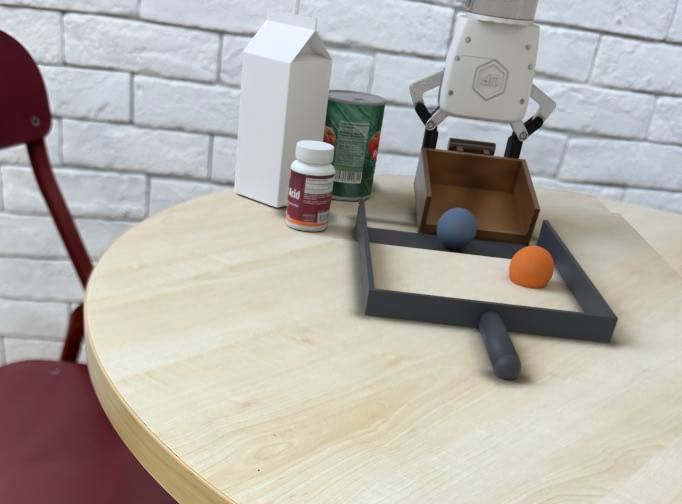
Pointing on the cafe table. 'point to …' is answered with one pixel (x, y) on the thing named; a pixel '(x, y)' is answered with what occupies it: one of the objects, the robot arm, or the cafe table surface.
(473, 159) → the drawer
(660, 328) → the cafe table surface
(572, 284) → the grey frame with handle
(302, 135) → the milk carton
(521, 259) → the orange ball
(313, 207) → the pill bottle
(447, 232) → the blue ball
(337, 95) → the canned tomato
